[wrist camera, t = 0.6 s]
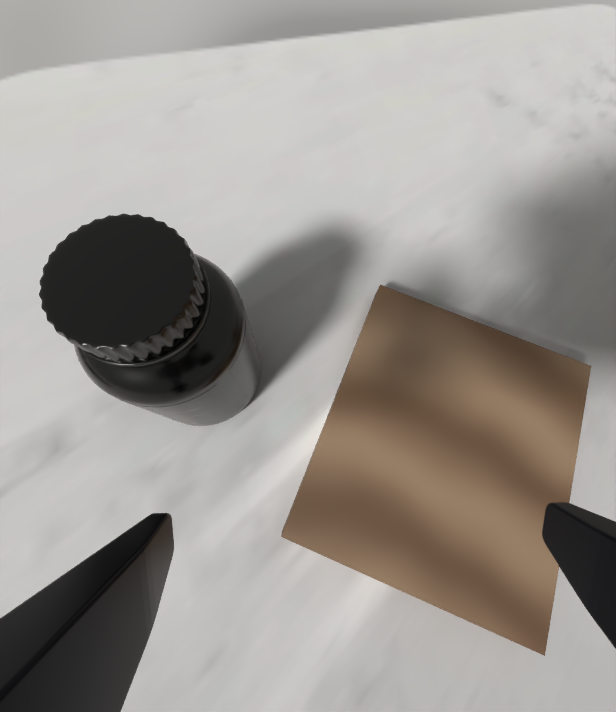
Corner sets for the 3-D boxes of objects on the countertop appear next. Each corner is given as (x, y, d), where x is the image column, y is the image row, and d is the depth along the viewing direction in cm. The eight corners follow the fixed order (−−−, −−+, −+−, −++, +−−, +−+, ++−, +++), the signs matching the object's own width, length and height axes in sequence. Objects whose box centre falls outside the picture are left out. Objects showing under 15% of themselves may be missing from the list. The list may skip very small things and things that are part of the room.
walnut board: (525, 641, 19) (544, 655, 17) (281, 531, 20) (281, 536, 18) (572, 372, 24) (591, 366, 22) (375, 295, 25) (380, 284, 23)
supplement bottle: (169, 315, 23) (54, 168, 12) (271, 333, 23) (253, 202, 12) (136, 418, 21) (-41, 358, 10) (248, 438, 21) (200, 400, 10)
